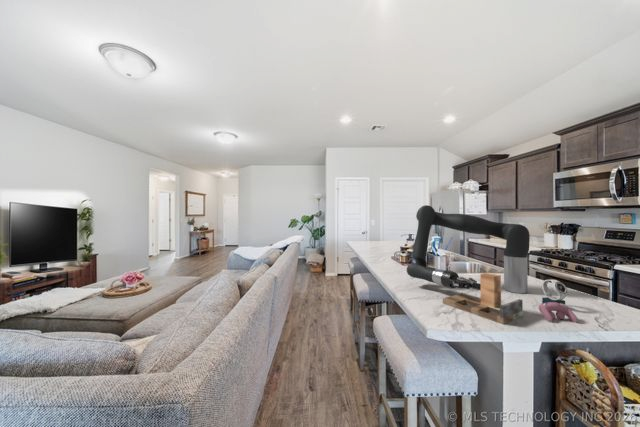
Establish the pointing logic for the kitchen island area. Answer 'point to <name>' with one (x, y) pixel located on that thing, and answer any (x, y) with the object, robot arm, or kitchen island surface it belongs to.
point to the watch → (558, 288)
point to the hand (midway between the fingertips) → (484, 287)
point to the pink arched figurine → (561, 311)
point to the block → (490, 289)
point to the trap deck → (486, 308)
